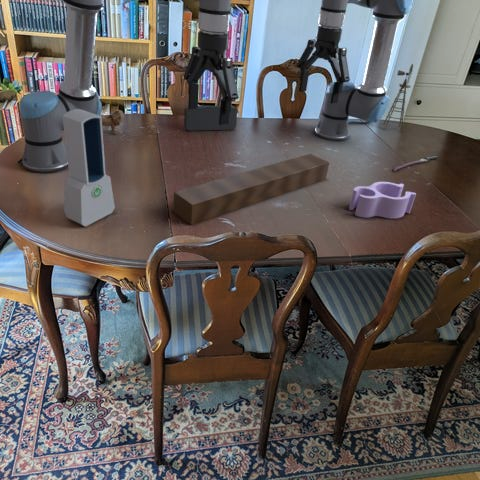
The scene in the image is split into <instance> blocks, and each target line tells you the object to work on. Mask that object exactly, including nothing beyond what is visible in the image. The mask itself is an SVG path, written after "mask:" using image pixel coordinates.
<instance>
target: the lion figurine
mask: <svg viewBox="0 0 480 480" xmlns="http://www.w3.org/2000/svg"><path fill="white" fill-rule="evenodd" d="M124 119H125V116H124V111H122V110H121V109H117V110H115V111H114V112H112V113H110V114H109V115H108V116H102V127H110V131H111V133H112V134H113V135H117V132H116V127H118V126H120V125H121V124H122V123H123V121H124Z"/></svg>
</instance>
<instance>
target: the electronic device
mask: <svg viewBox="0 0 480 480" xmlns="http://www.w3.org/2000/svg"><path fill="white" fill-rule="evenodd" d="M102 117H103V116H101V115H100V116H99V115H96V114H93V113H90V112H87V111H84V110H80V109H74V110H71V111H69V112H67V113H65V114H64V115H63V125H64V131H63V133H64V141H65V147H66V150H67V159H68V167H67V168H68V174H69V176H68V177H67V179H66V181H64V194H63V195H64V196H63V197H64V198H63V212H64V215H65V217H66V218H67V219H69V220H70V221H73V222H75V223H77V224H78V225H81V226H83V227H88V226H90V225H91V224H93V223H95V222H97V221H99V220H101V219H103V218H105V217H107V216H109V215H111V214H112V213H113V212H114V210H115V209H116V206H115V200H114V199H115V198H114V194H113V193H114V191H113V186H112V179H111V176H109V175H108V174H106V160H105V146H104V132H103V131H104V130H103V125H102Z"/></svg>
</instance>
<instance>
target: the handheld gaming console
mask: <svg viewBox="0 0 480 480" xmlns="http://www.w3.org/2000/svg"><path fill="white" fill-rule="evenodd" d="M238 111H239V110H238V107H236V106H235V105H231V112H230V113H229V124H225V125H219V115H220V105H198V108H195V109H188V106H185V108H184V114H183V115H184V117H183V119H184V121H183V122H184V123H183V127H184V129H185V130H186V131H190V132H192V131H193V132H194V131H229V130H230V131H231V130H235V129H236V128H237V123H238V122H237V119H238Z"/></svg>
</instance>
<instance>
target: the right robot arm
mask: <svg viewBox="0 0 480 480" xmlns="http://www.w3.org/2000/svg"><path fill="white" fill-rule="evenodd" d="M348 4H353V5H357V6H359V7H363V8H367V9H370V10H372V17H373V18H374V25H373V29H372V30H373V31H372V35H371V40H370V46H369V51H368V56H367V60H366V65H365V70H364V75H363V80H362V82H361V83H360V84H359V85H357V86H356V83H355V82H352V81H351V77H350V72H349V65H348V59H347V51H348V49H347V47H339V43H340V42H341V40H342V35H343V29H342V27H344V22H345V17H346V12H347V7H348ZM413 4H414V0H321V4H320V10H319V15H318V22H317V24H318V26H317V27H316V33H315V38H313V39H308V40H307V43H306V47H305V48H304V50H303V52H302V54H301V56H300V58H299V60H298V61H297V63H296V68H298V69H299V70H300V74H299V81H300V83H299V89H298V92H299V93H303V92H304V93H305V92H307V88H308V83H309V82H308V81H309V76H310V68H311V67H312V65H314V63H315V62H316V61H317V60H318V59H323V60H324V61H327V62H328V63H329V64H330V68H331V70H332V72H333V76H334V79H335V81H332V82H330V83H328V85H327V87H326V92H325V97H324V103H323V108H322V113H321V117H320V119H319V120H318V122H317V124H316V126H315V128H314V134H315V135H317V137H320V138H322V139H325V140H330V141H345V140H347V139H348V138H349V134H350V126H349V125H350V124H357V125H365V124H370V123H377V122H379V121H380V120H381V119H382V118H383V116H384V115H385V113H386V111H387V109H388V107H389V104H390V96H389V95H387V91H388V89H387V88H386V87H385V83H386V78H387V73H388V71H389V70H388V69H389V66H390V62H391V57H392V52H393V48H394V43H395V40H396V34H397V31H398V27H399V23H400V22H401V21H403V20H404V18H405V15H408V14H410V12H411V11H412V7H413ZM314 49H315V50H314ZM313 51H314V52H313ZM349 117H352V118H355V119H358V120H361V121H354V120H353V121H349Z"/></svg>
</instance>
